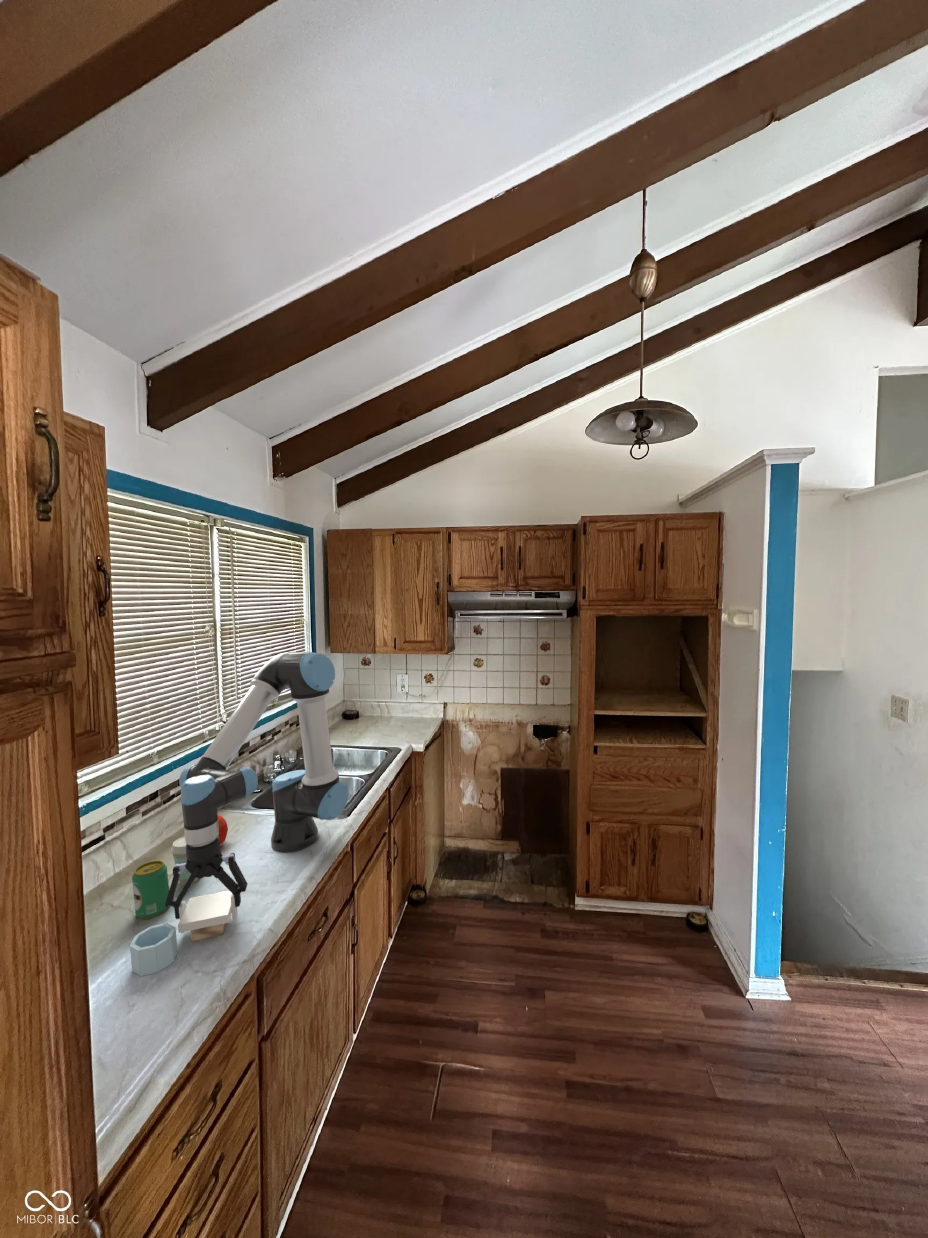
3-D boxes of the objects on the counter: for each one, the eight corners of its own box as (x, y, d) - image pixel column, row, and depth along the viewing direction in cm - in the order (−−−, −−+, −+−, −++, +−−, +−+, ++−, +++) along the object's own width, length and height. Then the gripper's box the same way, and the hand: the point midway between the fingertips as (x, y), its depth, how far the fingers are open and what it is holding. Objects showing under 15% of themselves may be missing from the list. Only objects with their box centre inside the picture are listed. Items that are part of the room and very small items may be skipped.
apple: (235, 840, 172) (232, 808, 171) (213, 856, 162) (210, 821, 161) (210, 838, 174) (207, 806, 173) (187, 854, 164) (184, 820, 164)
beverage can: (131, 912, 135) (127, 869, 134) (164, 897, 141) (160, 856, 140) (141, 924, 129) (136, 879, 129) (174, 908, 135) (170, 865, 135)
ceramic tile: (236, 896, 132) (236, 889, 132) (228, 922, 122) (228, 914, 122) (190, 905, 130) (190, 898, 129) (178, 933, 119) (177, 925, 119)
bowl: (180, 944, 121) (178, 920, 120) (170, 969, 113) (167, 944, 112) (141, 953, 119) (139, 928, 118) (127, 979, 111) (125, 953, 110)
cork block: (228, 917, 130) (226, 902, 130) (222, 934, 124) (221, 919, 123) (198, 923, 128) (197, 908, 128) (191, 941, 122) (190, 925, 121)
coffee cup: (192, 889, 144) (188, 848, 143) (167, 887, 146) (163, 847, 145) (212, 872, 152) (209, 834, 152) (188, 870, 154) (185, 832, 153)
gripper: (255, 824, 131) (261, 905, 133) (154, 841, 125) (162, 925, 126) (250, 838, 124) (257, 923, 125) (144, 856, 118) (152, 945, 119)
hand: (210, 924), depth 126 cm, fingers closed on ceramic tile, 11 cm apart
